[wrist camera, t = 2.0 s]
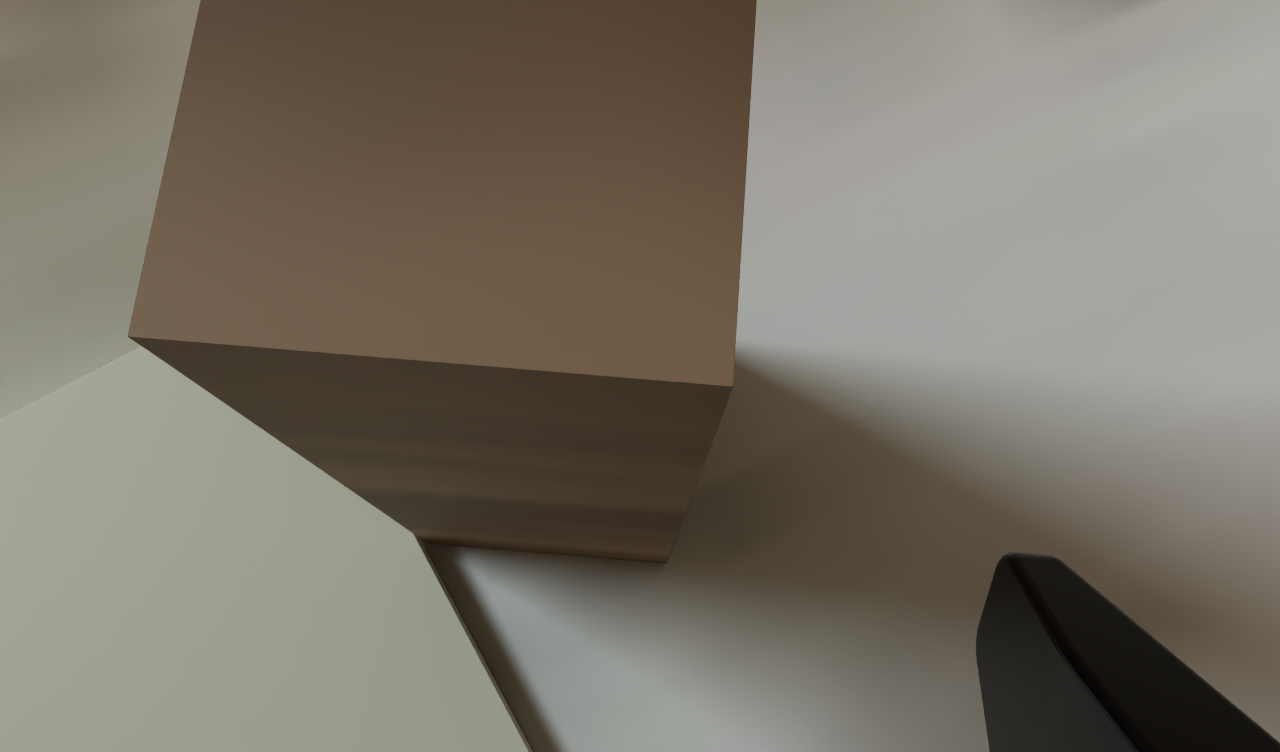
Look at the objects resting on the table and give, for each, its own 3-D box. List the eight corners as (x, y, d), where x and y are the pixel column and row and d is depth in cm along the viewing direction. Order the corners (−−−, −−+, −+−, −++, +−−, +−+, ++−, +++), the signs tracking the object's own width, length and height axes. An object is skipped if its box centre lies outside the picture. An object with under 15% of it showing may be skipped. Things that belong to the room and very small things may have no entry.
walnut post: (666, 563, 19) (732, 386, 8) (427, 543, 19) (126, 336, 8) (683, 334, 20) (765, -125, 9) (457, 316, 20) (236, -167, 9)
